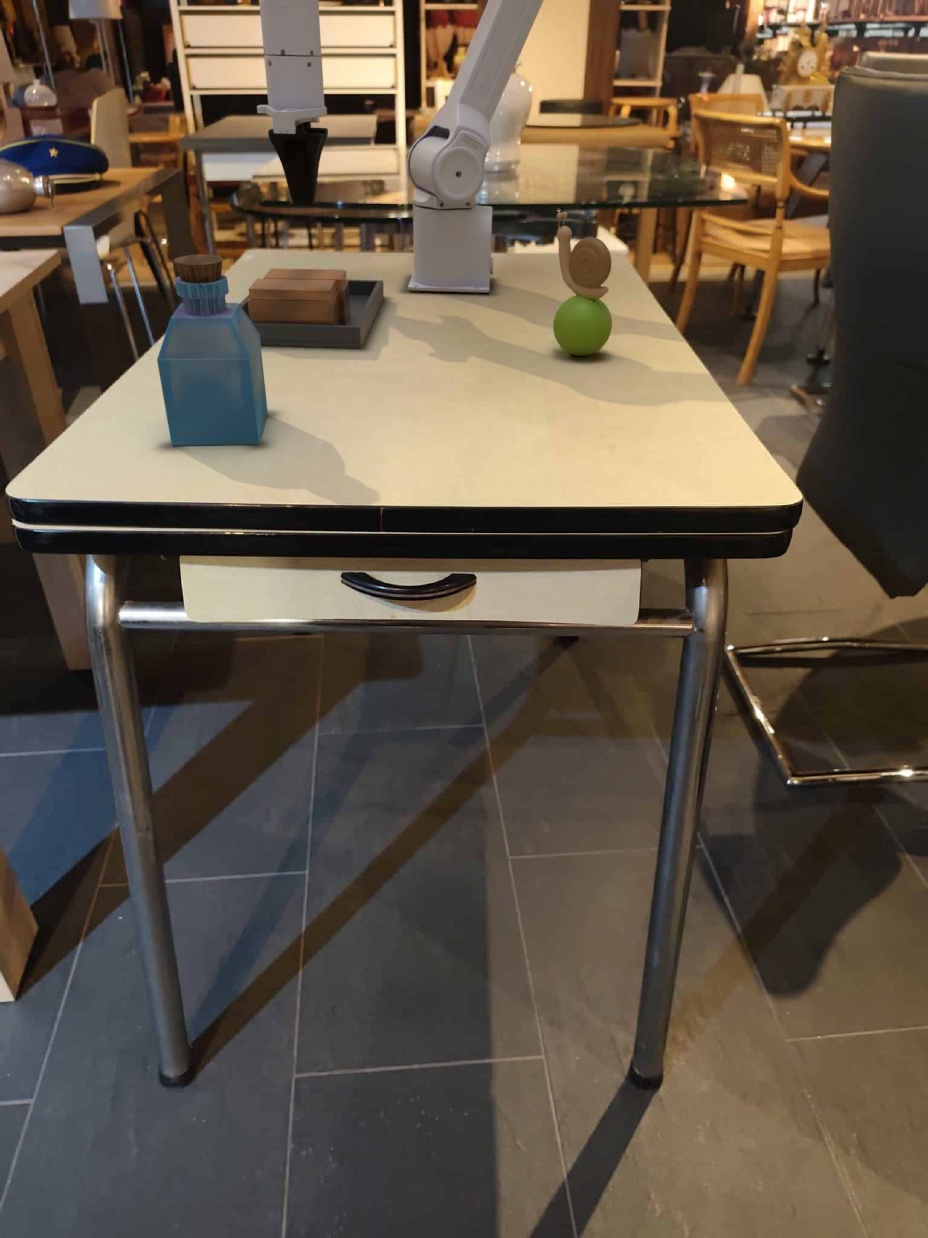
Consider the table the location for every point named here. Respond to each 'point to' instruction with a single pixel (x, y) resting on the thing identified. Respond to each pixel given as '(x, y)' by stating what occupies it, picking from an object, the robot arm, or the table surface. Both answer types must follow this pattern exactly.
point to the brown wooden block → (294, 301)
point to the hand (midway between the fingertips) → (303, 203)
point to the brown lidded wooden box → (320, 274)
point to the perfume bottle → (211, 362)
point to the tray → (351, 335)
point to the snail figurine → (583, 294)
